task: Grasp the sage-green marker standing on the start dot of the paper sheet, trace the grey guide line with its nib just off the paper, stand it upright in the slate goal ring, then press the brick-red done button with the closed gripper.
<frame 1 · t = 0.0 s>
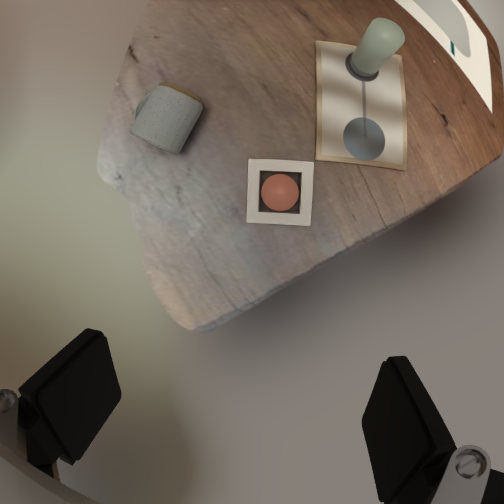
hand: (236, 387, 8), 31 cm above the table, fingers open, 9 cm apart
marker: (362, 66, 30), point 1 cm above the table, touching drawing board
button housing: (280, 191, 37), on the table
ceramic mug: (169, 121, 36), on the table
done button: (280, 192, 34), point 4 cm above the table, slide at 0.0 cm
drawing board: (361, 103, 33), on the table
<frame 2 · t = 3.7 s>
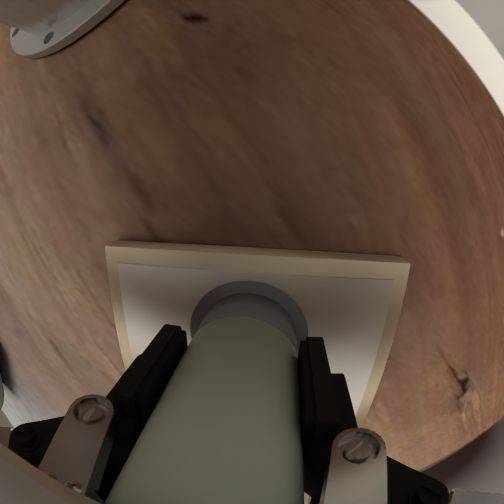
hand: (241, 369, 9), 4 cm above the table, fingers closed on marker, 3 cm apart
marker: (248, 336, 11), point 1 cm above the table, touching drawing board, gripper
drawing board: (248, 404, 14), on the table
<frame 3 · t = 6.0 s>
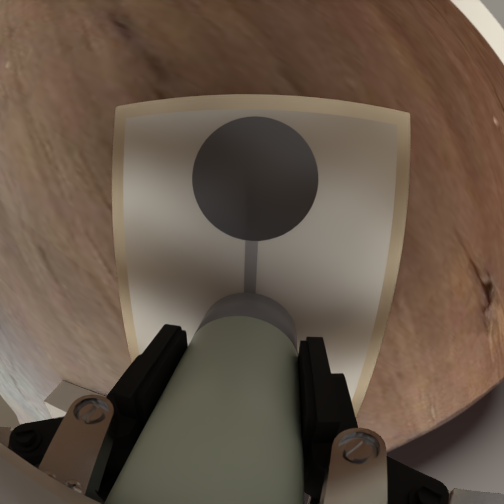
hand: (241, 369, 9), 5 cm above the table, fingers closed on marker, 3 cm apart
marker: (248, 336, 11), point 2 cm above the table, touching gripper
button housing: (113, 427, 18), on the table
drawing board: (252, 296, 13), on the table
when the fingers open (4 cm above the table, at t = 8.1 s): marker stays where it is, resting on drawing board.
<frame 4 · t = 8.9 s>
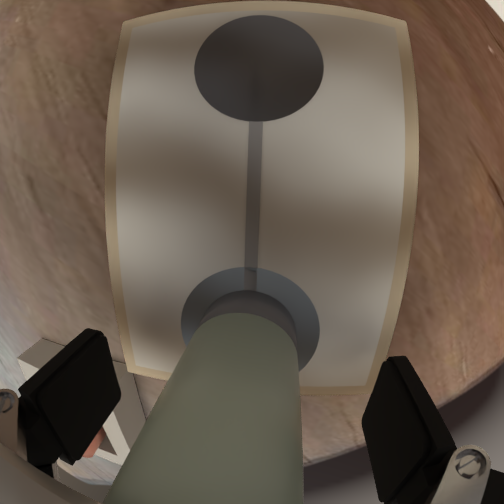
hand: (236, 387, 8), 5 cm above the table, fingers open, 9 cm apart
marker: (248, 333, 12), point 1 cm above the table, touching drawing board
button housing: (95, 395, 16), on the table
done button: (71, 425, 12), point 3 cm above the table, slide at 0.0 cm
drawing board: (256, 199, 12), on the table
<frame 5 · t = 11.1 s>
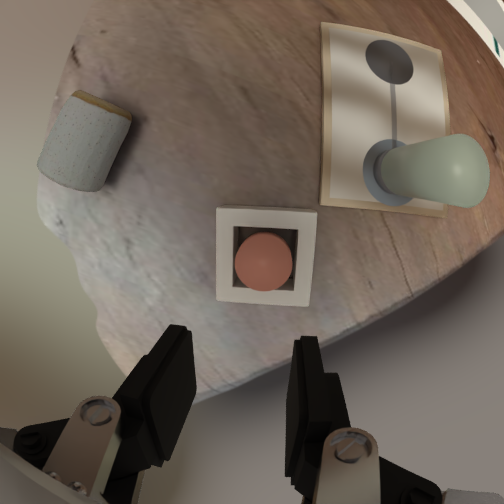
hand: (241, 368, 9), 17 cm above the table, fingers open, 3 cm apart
marker: (393, 171, 22), point 1 cm above the table, touching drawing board
button housing: (266, 250, 26), on the table
ceramic mug: (97, 140, 25), on the table
done button: (264, 261, 23), point 3 cm above the table, slide at 0.0 cm
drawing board: (388, 116, 22), on the table
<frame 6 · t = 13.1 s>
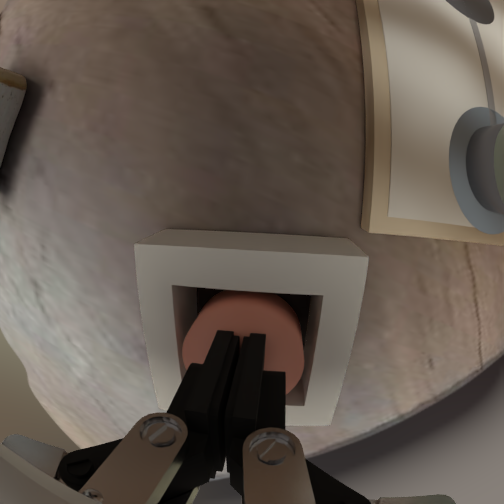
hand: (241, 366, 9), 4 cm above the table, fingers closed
marker: (494, 169, 9), point 1 cm above the table, touching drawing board
button housing: (251, 318, 13), on the table
done button: (245, 348, 10), point 3 cm above the table, slide at 0.9 cm, touching gripper
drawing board: (471, 71, 9), on the table
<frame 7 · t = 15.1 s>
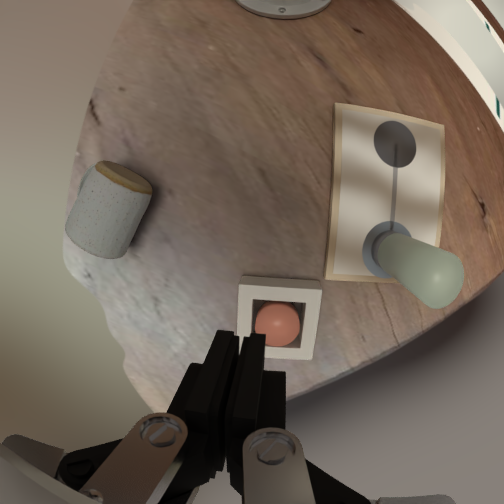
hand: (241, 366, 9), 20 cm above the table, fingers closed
marker: (388, 249, 27), point 1 cm above the table, touching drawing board
button housing: (277, 313, 30), on the table
ceramic mug: (118, 202, 30), on the table
done button: (277, 323, 28), point 3 cm above the table, slide at 1.0 cm
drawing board: (389, 196, 27), on the table
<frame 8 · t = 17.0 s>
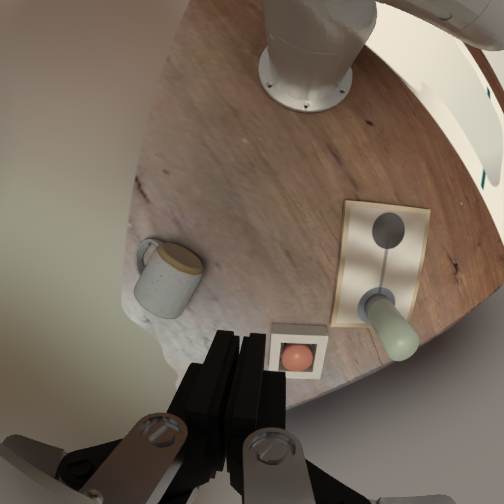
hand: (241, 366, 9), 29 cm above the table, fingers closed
marker: (376, 306, 37), point 1 cm above the table, touching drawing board
button housing: (296, 347, 42), on the table
ceramic mug: (170, 267, 41), on the table
done button: (297, 356, 39), point 3 cm above the table, slide at 1.0 cm
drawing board: (380, 267, 37), on the table
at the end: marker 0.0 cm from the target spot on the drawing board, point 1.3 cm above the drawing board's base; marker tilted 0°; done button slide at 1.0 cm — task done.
